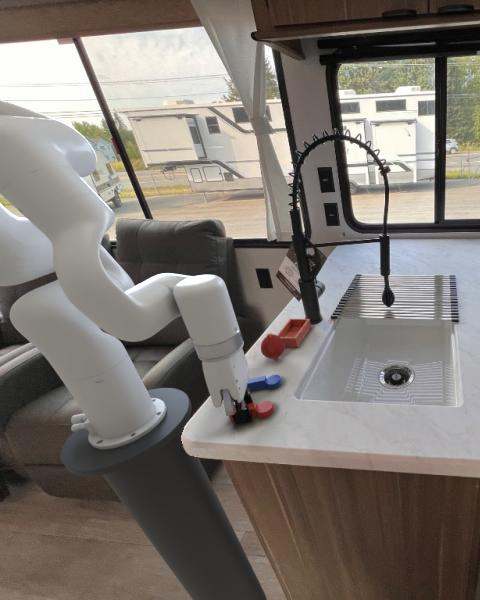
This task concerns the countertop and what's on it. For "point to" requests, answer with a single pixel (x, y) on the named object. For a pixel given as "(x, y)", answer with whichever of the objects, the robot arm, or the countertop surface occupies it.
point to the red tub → (294, 332)
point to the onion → (272, 346)
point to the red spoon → (260, 409)
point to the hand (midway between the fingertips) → (245, 415)
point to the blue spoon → (264, 382)
